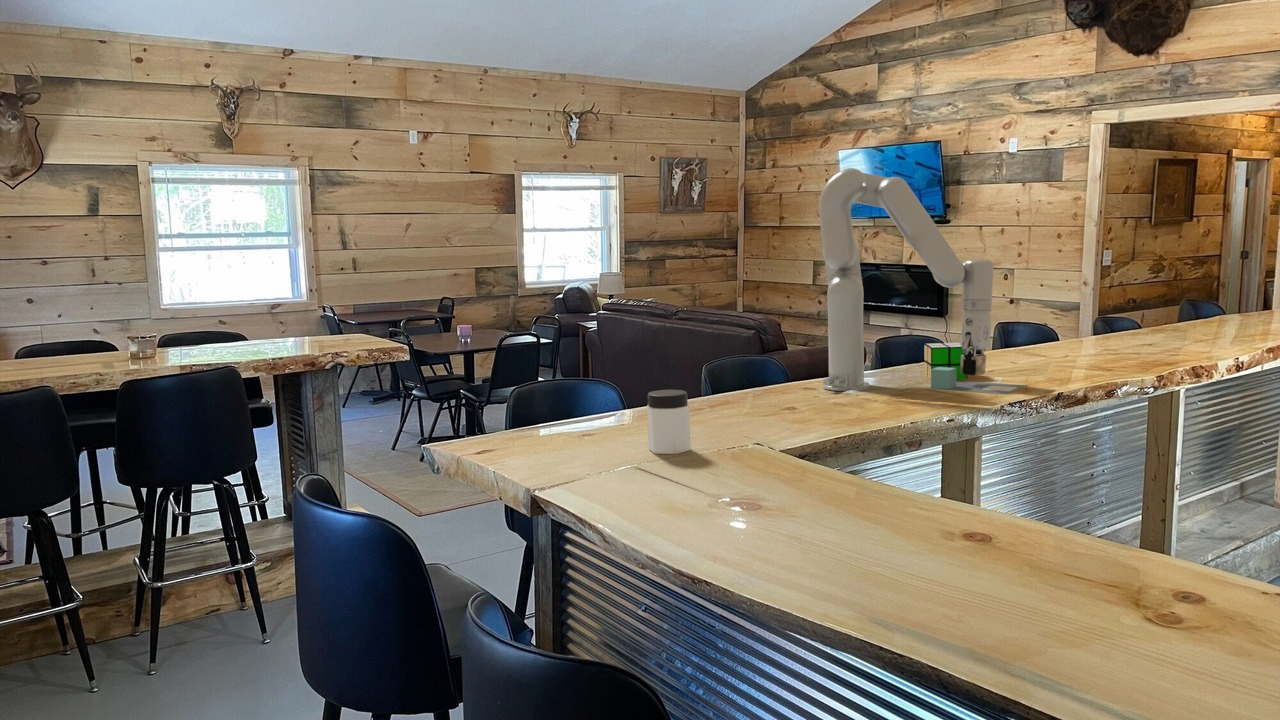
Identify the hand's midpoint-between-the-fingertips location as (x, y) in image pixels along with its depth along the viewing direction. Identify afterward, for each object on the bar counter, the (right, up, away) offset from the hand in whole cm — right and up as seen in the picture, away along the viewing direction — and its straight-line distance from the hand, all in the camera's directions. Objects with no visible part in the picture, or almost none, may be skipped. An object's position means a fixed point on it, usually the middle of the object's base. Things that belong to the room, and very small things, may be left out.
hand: (972, 372), depth 249 cm
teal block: (-8, -4, -1) cm, 9 cm away
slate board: (0, -5, -3) cm, 5 cm away
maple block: (0, 0, 0) cm, 0 cm away
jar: (-84, -15, -58) cm, 103 cm away
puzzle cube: (-2, -2, +17) cm, 17 cm away
